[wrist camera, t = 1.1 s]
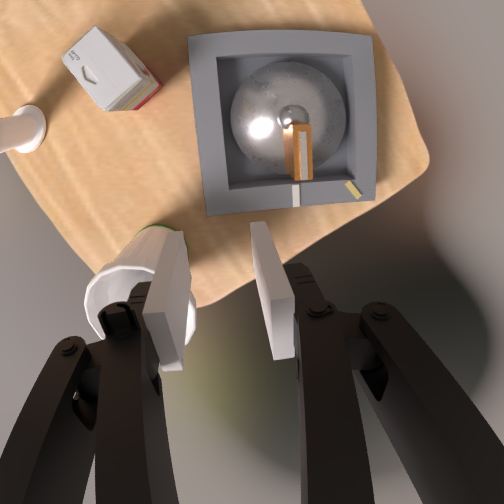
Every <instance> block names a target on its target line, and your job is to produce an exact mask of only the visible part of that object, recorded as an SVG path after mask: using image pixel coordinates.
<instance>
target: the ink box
mask: <svg viewBox="0 0 504 504" xmlns="http://www.w3.org/2000/svg"><path fill="white" fill-rule="evenodd" d="M61 58H62V59H63V63H64V64H65V65H66V66H67V68H68V69H69V71H70V72H71V73H72V74H73V75H74V76H75V77H76V79H77V80H78V82H79V83H80V84H81V85H82V87H83V88H84V89H85V90H86V91H87V92H88V94H89V95H90V97H91V98H92V99H93V100H94V101H95V102H96V104H97V105H98V106H99V107H100V108H101V109H104V110H105V111H109V112H110V111H128V110H138V109H139V108H140V107H141V106H142V105H143V104H144V103H145V102H146V101H147V100H148V99H150V98H151V97H152V96H153V95H154V94H155V93H156V92H157V91H158V90H160V89H161V88H162V86H163V85H162V84H161V83H160V81H159V80H158V79H157V78H156V77H155V76H154V74H153V73H152V72H151V71H150V70H149V69H148V68H147V67H146V66H145V64H144V63H143V62H142V61H141V60H140V59H139V58H138V57H137V56H136V55H135V54H134V52H133V51H132V50H131V49H130V48H129V47H128V46H127V45H126V44H124V43H122V42H121V41H119V40H118V39H116V38H114V37H113V36H111V35H109V34H108V33H106V32H105V31H103V30H102V29H100V28H98V27H97V26H94V27H92V28H91V29H90V30H89V31H88V32H86V33H85V34H84V35H83V36H82V37H81V38H80V39H79V40H78V41H77V42H76V43H75V44H74V45H73V46H72V47H71V48H70V49H69V50H68V51H67V52H66V53H65V54H64V55H63V56H62V57H61Z"/></svg>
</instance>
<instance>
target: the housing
mask: <svg viewBox="0 0 504 504" xmlns="http://www.w3.org/2000/svg"><path fill="white" fill-rule="evenodd" d="M187 41H188V53H189V65H190V76H191V86H192V96H193V106H194V115H195V124H196V133H197V142H198V150H199V159H200V167H201V175H202V183H203V190H204V198H205V205H206V212H207V217H208V216H216V215H225V214H233V213H242V212H251V211H260V210H270V209H280V208H290V207H300V206H311V205H322V204H334V203H346V202H359V201H372V200H375V192H376V166H377V109H376V84H375V67H374V54H373V43H372V36H368V35H361V34H352V33H342V32H331V31H315V30H248V31H232V32H220V33H210V34H202V35H194V36H187ZM277 62H297V63H302V64H305V65H308V66H311V67H313V68H315V69H317V70H318V71H320V72H322V73H323V74H324V75H325V76H327V77H328V78H329V79H330V80H331V82H332V83H333V84H334V85H335V87H336V88H337V89H338V91H339V93H340V95H341V97H342V100H343V103H344V107H345V113H346V125H345V131H344V135H343V138H342V140H341V142H340V145H339V146H338V148H337V150H336V151H335V152H334V154H333V155H332V156H331V157H330V158H329V159H328V160H327V161H326V162H324V163H323V164H322V165H320V166H318V167H317V168H315V169H313V179H312V180H299V181H295V180H294V179H293V178H292V177H291V176H290V175H289V174H278V173H274V172H271V171H268V170H265V169H263V168H261V167H260V166H258V165H256V164H255V163H254V162H252V161H251V160H250V159H249V158H248V157H247V156H246V155H245V154H244V153H243V152H242V150H241V149H240V147H239V146H238V144H237V142H236V140H235V138H234V136H233V132H232V129H231V123H230V110H231V104H232V101H233V98H234V95H235V93H236V91H237V90H238V88H239V86H240V85H241V84H242V83H243V81H244V80H245V79H247V78H248V77H249V76H250V75H251V74H252V73H254V72H255V71H256V70H258V69H260V68H262V67H264V66H266V65H269V64H272V63H277Z"/></svg>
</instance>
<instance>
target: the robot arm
mask: <svg viewBox="0 0 504 504" xmlns="http://www.w3.org/2000/svg"><path fill="white" fill-rule="evenodd" d="M250 231H251V243H252V254H253V266H254V273H255V278H256V281H257V287H258V291H259V296H260V300H261V305H262V309H263V314H264V318H265V323H266V327H267V331H268V336H269V340H270V345H271V349H272V354H273V358H274V360H278V359H285V358H292V357H294V350H295V351H296V354H297V379H298V397H299V398H298V400H299V425H300V460H301V504H375V502H374V494H373V486H372V480H371V472H370V466H369V460H368V454H367V447H366V441H365V435H364V430H363V424H362V419H361V413H360V408H359V403H358V398H357V393H356V388H355V383H354V379H353V374H352V370H353V373H354V375H355V377H356V378H357V380H358V382H359V384H360V385H361V387H362V389H363V391H364V393H365V395H366V397H367V398H368V400H369V402H370V404H371V405H372V407H373V409H374V411H375V413H376V415H377V417H378V419H379V420H380V422H381V424H382V426H383V428H384V430H385V431H386V433H387V435H388V437H389V439H390V441H391V443H392V445H393V447H394V448H395V450H396V452H397V454H398V456H399V458H400V460H401V462H402V464H403V465H404V468H405V469H406V471H407V473H408V475H409V477H410V479H411V481H412V483H413V485H414V487H415V489H416V491H417V493H418V494H419V497H420V499H421V501H422V503H423V504H504V446H503V444H502V443H501V441H500V440H499V438H498V437H497V435H496V434H495V433H494V431H493V430H492V428H491V427H490V425H489V424H488V423H487V421H486V420H485V419H484V417H483V416H482V415H481V413H480V412H479V410H478V409H477V407H476V406H475V405H474V404H473V402H472V401H471V399H470V398H469V397H468V395H467V394H466V393H465V392H464V390H463V389H462V388H461V386H460V385H459V384H458V382H457V381H456V380H455V379H454V377H453V376H452V375H451V373H450V372H449V371H448V370H447V368H446V367H445V366H444V365H443V363H442V362H441V361H440V360H439V358H438V357H437V356H436V355H435V353H434V352H433V351H432V350H431V349H430V347H429V346H428V345H427V344H426V343H425V341H424V340H423V339H422V338H421V337H420V335H419V334H418V333H417V332H416V331H415V329H414V328H413V327H412V326H411V325H410V324H409V322H408V321H407V320H406V319H405V318H404V317H403V315H402V314H401V313H400V312H399V311H398V310H397V309H396V308H395V307H394V306H392V305H391V304H388V303H386V302H379V301H378V302H371V303H368V304H366V305H365V306H364V307H363V308H362V311H361V313H345V312H341V311H338V310H337V308H336V306H335V305H334V304H333V303H331V302H329V301H326V300H325V298H324V296H323V294H322V292H321V290H320V288H319V287H318V285H317V283H316V282H315V279H314V277H313V276H312V273H311V272H310V269H309V268H308V267H307V266H305V265H304V264H302V263H294V264H287V265H282V263H281V260H280V257H279V255H278V252H277V250H276V247H275V245H274V242H273V240H272V237H271V235H270V232H269V230H268V227H267V225H266V222H265V221H259V222H250ZM191 279H192V277H191V272H190V267H189V262H188V257H187V252H186V246H185V241H184V235H183V231H175V232H168V233H167V236H166V239H165V242H164V245H163V248H162V251H161V254H160V257H159V260H158V263H157V266H156V269H155V273H154V276H153V279H152V281H147V282H138V283H137V284H136V285H135V286H134V287H133V288H132V289H131V292H130V295H129V298H128V300H127V302H125V301H120V302H114V303H111V304H109V305H107V306H105V307H104V308H103V309H102V310H101V311H100V312H99V313H98V316H97V317H98V320H99V322H100V324H101V327H102V329H103V331H104V333H105V339H104V340H101V341H99V342H95V343H91V344H88V345H86V343H85V341H84V339H82V338H81V337H78V336H71V337H68V338H65V339H63V340H61V341H60V342H59V343H58V344H57V345H56V346H55V348H54V349H53V351H52V353H51V354H50V356H49V358H48V360H47V362H46V364H45V365H44V367H43V369H42V371H41V373H40V375H39V377H38V378H37V380H36V382H35V384H34V386H33V388H32V390H31V392H30V394H29V396H28V398H27V400H26V402H25V404H24V406H23V408H22V410H21V412H20V414H19V416H18V418H17V421H16V423H15V425H14V427H13V430H12V432H11V434H10V436H9V439H8V441H7V443H6V446H5V448H4V450H3V453H2V455H1V458H0V504H82V503H83V498H84V494H85V490H86V485H87V482H88V477H89V474H90V470H91V466H92V462H93V459H94V455H95V492H96V504H179V501H178V497H177V491H176V486H175V480H174V474H173V468H172V462H171V456H170V449H169V442H168V435H167V427H166V419H165V411H164V402H163V393H162V382H161V378H160V375H159V373H158V367H159V362H160V365H161V367H162V370H163V371H174V370H183V361H184V349H185V337H186V326H187V316H188V306H189V297H190V288H191ZM75 392H76V395H75V397H74V398H73V396H74V394H75Z"/></svg>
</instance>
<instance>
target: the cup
mask: <svg viewBox="0 0 504 504" xmlns="http://www.w3.org/2000/svg"><path fill="white" fill-rule="evenodd" d="M168 232H175V230H174V229H172V228H169V227H166V226H163V225H151V226H148V227H146V228H144V229H142V230H141V231H140V232H139V233H138V234H137V235H136V236H135V237H134V238H133V239H132V241H131V242H130V243H129V244H128V245H127V246H126V247H125V248H124V250H123V251H122V252H121V253H120V254H119V255H118V256H117V258H116V259H115V260H114V261H113V262H111V263H108V264H106V265H104V266H103V267H102V269H101V270H100V271H99V272H98V273H97V274H96V275H95V276H94V278H92V280H91V281H90V283H89V284H88V286H87V291H86V296H85V301H84V306H85V310H86V314H87V318H88V321H89V323H90V325H91V326H92V327H93V329H94V330H95V331H96V333H97V334H98V336H99V337H100V338H101V339H102V340H104V339H105V333H104V331H103V329H102V327H101V324H100V322H99V320H98V317H97V316H98V313H99V312H100V311H101V310H102V309H103V308H104V307H105V306H107V305H109V304H111V303H114V302H120V301H125V302H127V300H128V298H129V295H130V292H131V289H132V288H133V287H134V286H135V285H136V284H137V283H138V282H147V281H152V279H153V276H154V273H155V269H156V266H157V263H158V260H159V257H160V254H161V251H162V248H163V245H164V242H165V239H166V236H167V233H168ZM185 246H186V243H185ZM186 252H187V246H186ZM187 257H188V254H187ZM195 329H196V299H195V298H194V296H193V294H192V292H191V290H190V297H189V306H188V316H187V326H186V337H185V345H186V344H188V343H189V341H190V339H191V337H192V335H193V333H194V331H195Z"/></svg>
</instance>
